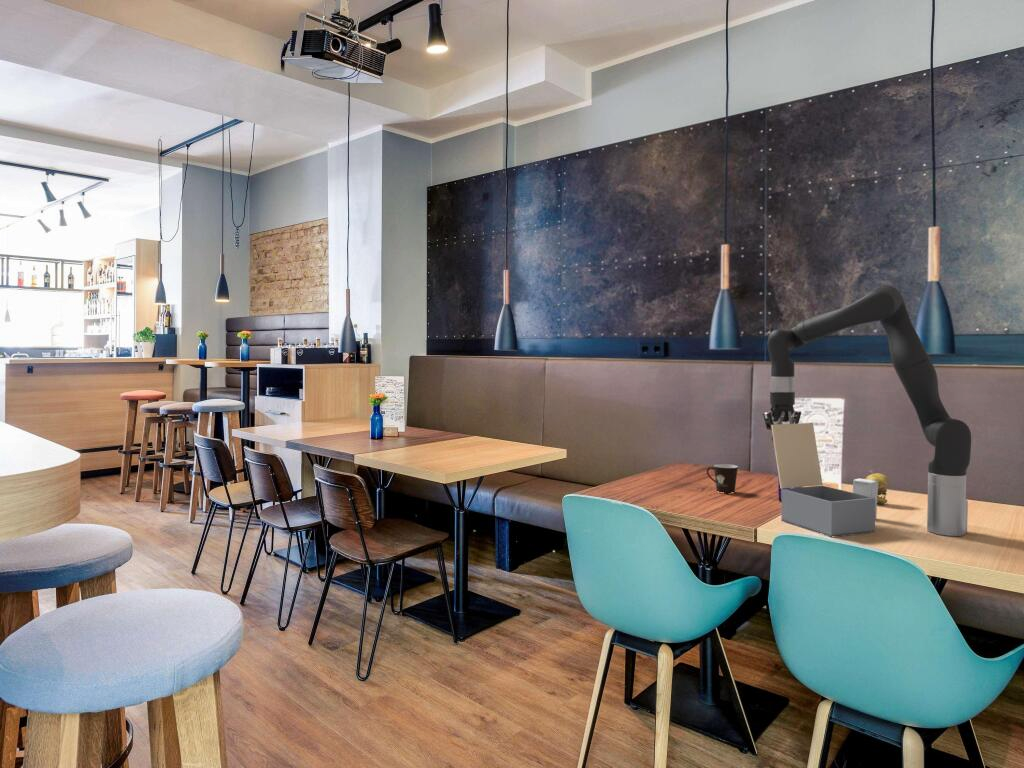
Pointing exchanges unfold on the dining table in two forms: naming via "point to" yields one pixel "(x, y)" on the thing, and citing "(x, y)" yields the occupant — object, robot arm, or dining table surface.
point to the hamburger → (879, 485)
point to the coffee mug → (724, 477)
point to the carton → (828, 510)
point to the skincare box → (866, 489)
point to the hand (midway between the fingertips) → (781, 442)
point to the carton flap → (796, 455)
